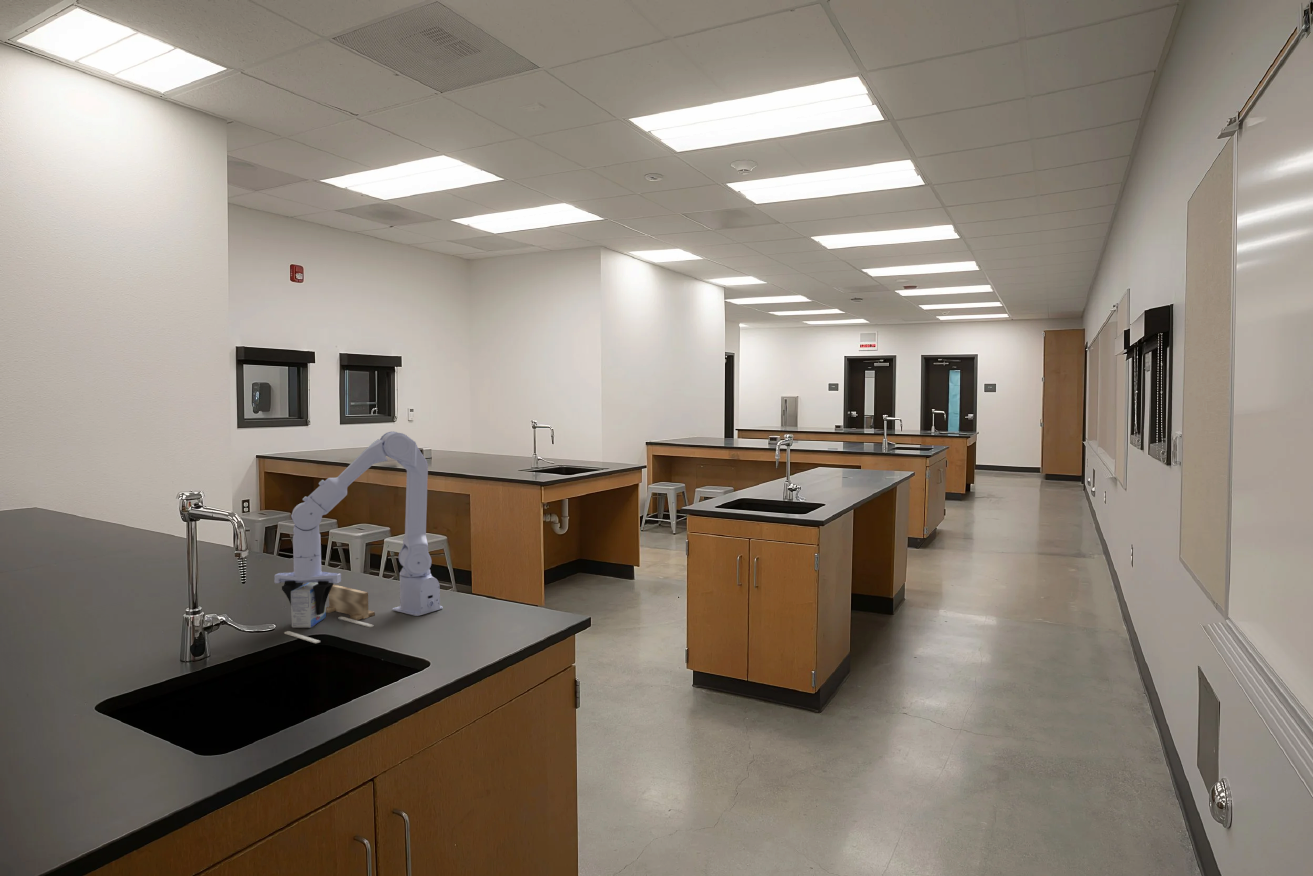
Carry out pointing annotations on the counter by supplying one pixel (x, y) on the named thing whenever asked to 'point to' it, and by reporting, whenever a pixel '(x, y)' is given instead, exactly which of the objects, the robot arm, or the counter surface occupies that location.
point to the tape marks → (318, 640)
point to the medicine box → (305, 607)
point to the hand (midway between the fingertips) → (308, 613)
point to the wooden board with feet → (349, 602)
